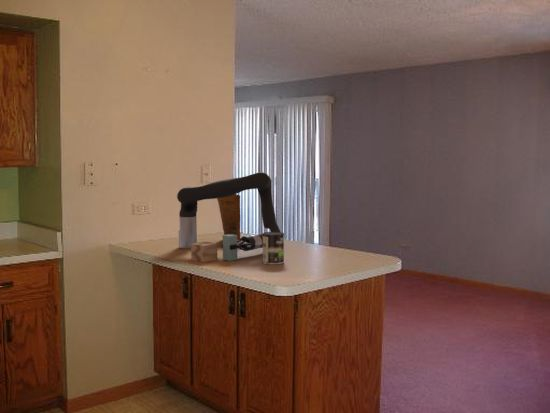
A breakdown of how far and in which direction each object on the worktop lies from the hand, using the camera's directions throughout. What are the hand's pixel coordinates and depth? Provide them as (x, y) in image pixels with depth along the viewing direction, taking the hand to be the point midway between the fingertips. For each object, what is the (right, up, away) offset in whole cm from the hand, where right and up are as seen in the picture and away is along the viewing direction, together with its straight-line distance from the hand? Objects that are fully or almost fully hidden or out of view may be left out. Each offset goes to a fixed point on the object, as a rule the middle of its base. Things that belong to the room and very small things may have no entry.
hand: (226, 247), depth 274 cm
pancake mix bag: (-3, -1, +63) cm, 63 cm away
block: (-11, -7, +3) cm, 13 cm away
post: (+2, -6, +3) cm, 7 cm away
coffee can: (+23, -7, -4) cm, 24 cm away
